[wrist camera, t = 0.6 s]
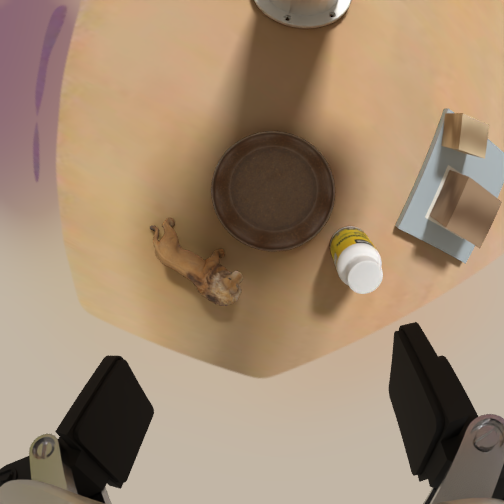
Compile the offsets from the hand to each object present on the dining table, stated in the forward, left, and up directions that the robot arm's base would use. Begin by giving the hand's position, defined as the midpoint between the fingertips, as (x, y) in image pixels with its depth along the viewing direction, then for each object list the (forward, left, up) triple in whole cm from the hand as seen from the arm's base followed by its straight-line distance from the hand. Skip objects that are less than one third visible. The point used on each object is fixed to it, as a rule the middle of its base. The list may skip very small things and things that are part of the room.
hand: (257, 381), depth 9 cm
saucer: (0, 0, -31) cm, 31 cm away
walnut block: (-9, +24, -29) cm, 39 cm away
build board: (-11, +24, -31) cm, 40 cm away
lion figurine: (+11, -7, -31) cm, 33 cm away
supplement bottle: (+3, +12, -31) cm, 33 cm away
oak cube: (-17, +19, -29) cm, 39 cm away
